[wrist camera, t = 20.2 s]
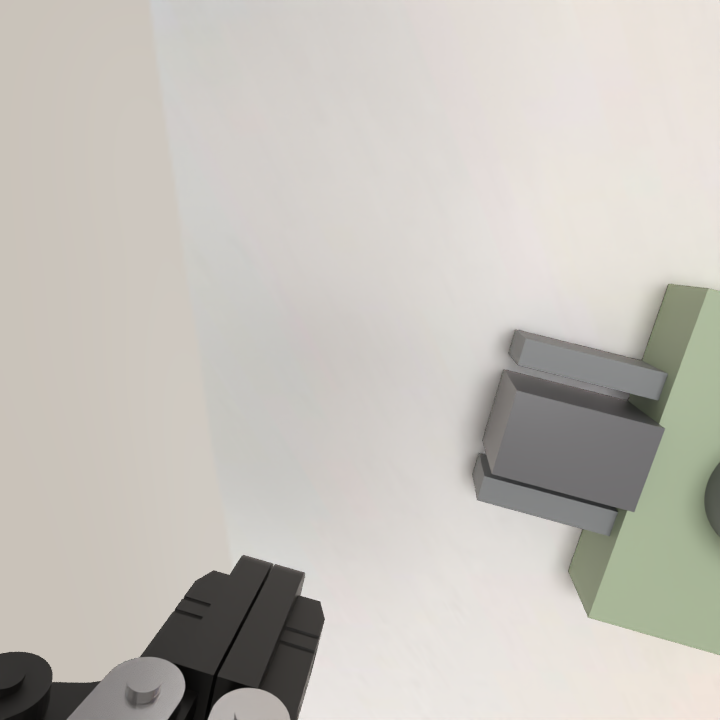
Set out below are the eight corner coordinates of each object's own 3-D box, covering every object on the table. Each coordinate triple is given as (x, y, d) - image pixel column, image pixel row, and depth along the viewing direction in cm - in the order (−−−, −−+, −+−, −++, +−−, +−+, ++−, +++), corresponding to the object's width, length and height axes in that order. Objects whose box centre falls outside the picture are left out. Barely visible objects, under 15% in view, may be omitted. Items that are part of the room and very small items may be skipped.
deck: (453, 538, 39) (459, 622, 30) (538, 253, 34) (574, 252, 26) (747, 621, 37) (845, 734, 28) (873, 332, 33) (1034, 359, 24)
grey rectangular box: (482, 439, 37) (491, 473, 31) (503, 368, 36) (517, 390, 30) (602, 471, 37) (634, 512, 31) (626, 400, 36) (665, 428, 30)
